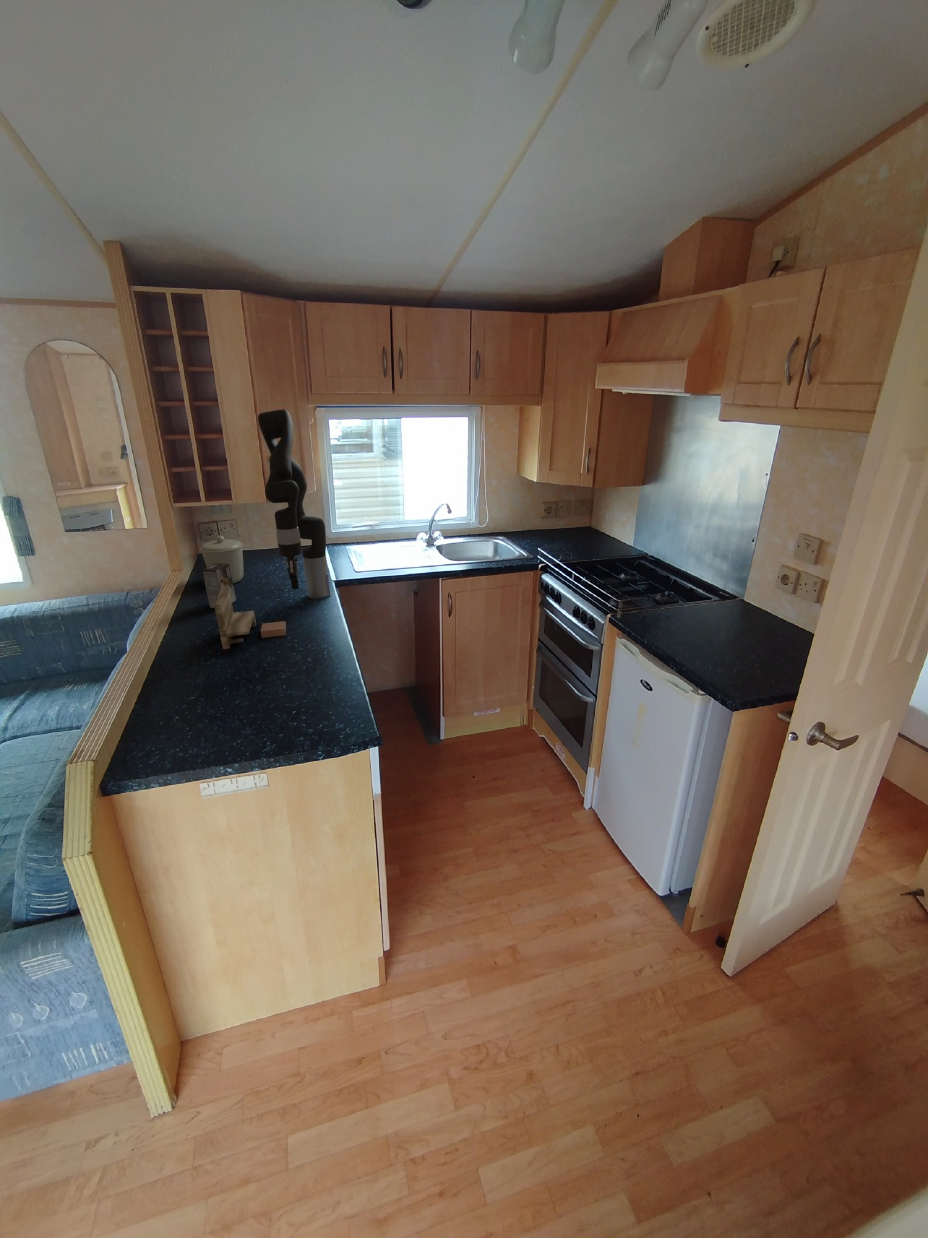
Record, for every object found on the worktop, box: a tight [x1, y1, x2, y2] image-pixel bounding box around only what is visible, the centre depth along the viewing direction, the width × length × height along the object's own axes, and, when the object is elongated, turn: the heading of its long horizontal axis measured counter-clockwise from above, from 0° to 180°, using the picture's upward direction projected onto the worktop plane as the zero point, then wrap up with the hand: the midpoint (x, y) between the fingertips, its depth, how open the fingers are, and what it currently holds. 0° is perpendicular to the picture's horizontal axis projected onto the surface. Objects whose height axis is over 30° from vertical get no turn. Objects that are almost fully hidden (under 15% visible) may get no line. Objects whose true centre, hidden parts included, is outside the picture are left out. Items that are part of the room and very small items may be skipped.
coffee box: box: [201, 563, 237, 609], centre depth 223 cm, size 9×6×16 cm
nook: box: [214, 586, 257, 650], centre depth 194 cm, size 9×19×16 cm, turn 14°
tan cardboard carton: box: [260, 621, 287, 639], centre depth 199 cm, size 8×7×2 cm
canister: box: [199, 535, 244, 584], centre depth 249 cm, size 18×18×21 cm
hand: (295, 588), depth 196 cm, fingers closed
